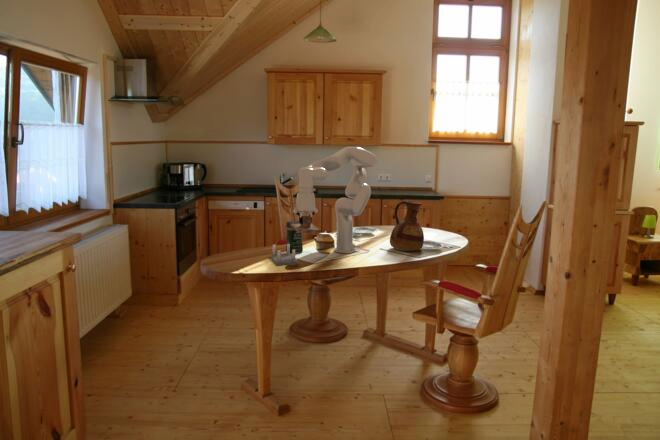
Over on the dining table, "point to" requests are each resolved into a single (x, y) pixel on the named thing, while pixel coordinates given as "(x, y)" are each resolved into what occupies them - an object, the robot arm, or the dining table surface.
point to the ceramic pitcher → (407, 229)
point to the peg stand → (284, 257)
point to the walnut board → (305, 226)
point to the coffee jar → (294, 238)
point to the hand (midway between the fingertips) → (305, 223)
